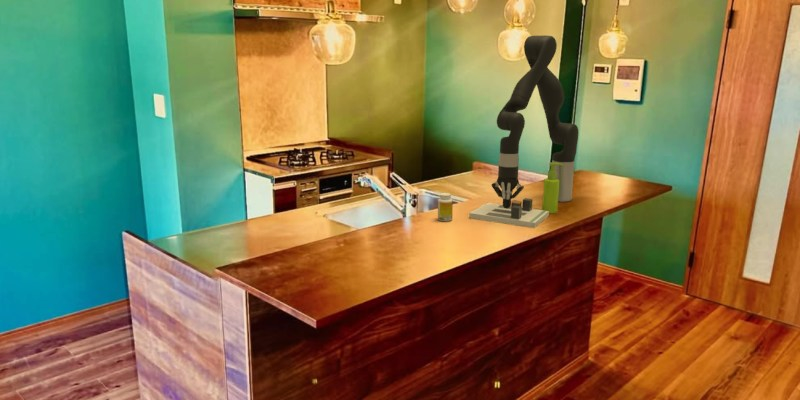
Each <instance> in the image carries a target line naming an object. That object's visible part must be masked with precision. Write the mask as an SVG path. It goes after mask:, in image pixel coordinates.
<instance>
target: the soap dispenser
mask: <svg viewBox="0 0 800 400" xmlns="http://www.w3.org/2000/svg"><path fill="white" fill-rule="evenodd" d="M548 165H549V166H550V169H549V170H548V171H547V178H545V179H544V180H543V193H542V195H543V196H542V207H541V208H542V209H541V210H544V211H549V214H556V213H558V209H559V208H558V205H559V201H558V194H559V180H558V179H556V176H557V171H555V165H561V166H563V164H561V163H552V162H548Z"/></svg>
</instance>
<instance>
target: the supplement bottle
mask: <svg viewBox="0 0 800 400" xmlns="http://www.w3.org/2000/svg"><path fill="white" fill-rule="evenodd" d="M451 197H452V195H451V193H448V192H441V193H440V194H439V198H438V199H437V220H438V221H440V222H445V223H446V222H451V221H452V220H453V206H454V205H453V199H452V198H451Z"/></svg>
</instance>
